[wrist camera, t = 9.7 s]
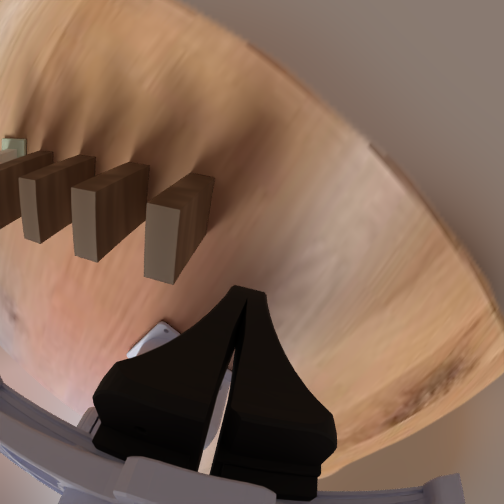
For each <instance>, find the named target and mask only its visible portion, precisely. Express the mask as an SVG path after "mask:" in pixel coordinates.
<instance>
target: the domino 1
mask: <svg viewBox="0 0 504 504" xmlns="http://www.w3.org/2000/svg"><path fill="white" fill-rule="evenodd" d="M16 158H17V149H5V150H1V151H0V164H2V163H5V162H8V161H10V160H13V159H16Z"/></svg>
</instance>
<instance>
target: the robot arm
mask: <svg viewBox="0 0 504 504" xmlns="http://www.w3.org/2000/svg"><path fill="white" fill-rule="evenodd" d="M166 329H167V330H166ZM234 349H235V354H234V361H233V369H232V372H231V371H230V370H228V369H227V368H228V365H229V363H230V360H231V357H232V355H233V352H234ZM127 357H128V358H129V359H125V360H122V361H118V362H116V363H115V364H114V365H113V367H112V368H111V369H110V370H109V371H108V372H107V374H106V375H105V376H104V378H103V379H102V381H101V382H100V384H99V386H98V388H97V389H96V391H95V393H94V395H93V403H94V406H95V407H90V408H88V409H87V411H86V412H85V414H84V415H83V417H82V419H81V420H80V422H79V424H78V425H77V427H75V426H73V425H71V424H70V423H67V422H66V421H64V420H62V419H60V418H58V417H57V416H55V415H53V414H51V413H49V412H48V411H46V410H44V409H43V408H41V407H39V406H38V405H36V404H35V403H33V402H31V401H30V400H28V399H27V398H25V397H24V396H22V395H20V394H19V393H17V392H16V391H14V390H13V389H12V388H10V387H9V386H7V385H6V384H5V383H3V380H2V378H1V376H0V452H1V453H2V454H3V455H5V456H6V457H7V458H8V459H10V460H11V461H12V462H14V463H15V464H16V465H17V466H19V467H20V468H21V469H23V470H24V471H26V472H27V473H28V474H30V475H31V476H33V477H34V478H36V479H37V480H39V481H40V482H42V483H43V484H45V485H46V486H48V487H49V488H51V489H53V490H54V491H56V492H58V493H59V494H61V495H62V496H61V498H60V501H59V503H58V504H465V499H464V495H463V489H462V484H461V479H460V474H459V473H456V474H450V475H444V476H439V477H436V478H434V479H432V480H430V481H428V482H427V483H425V484H424V485H423V486H418V487H410V488H401V489H390V490H376V491H346V492H345V491H317V480H318V477H319V476H320V474H321V464H322V463H323V462H324V461H325V460H326V459H327V458H328V457H329V456H330V455H332V454H333V453H334V451H335V450H336V448H337V433H336V428H335V423H334V418H333V415H332V414H331V413H330V412H329V411H328V410H327V409H326V408H325V407H324V406H323V405H322V404H321V403H320V402H319V401H318V400H317V399H316V398H315V397H314V395H313V394H312V393H311V392H310V391H309V390H308V388H307V387H306V386H305V384H304V383H303V382H302V380H301V379H300V377H299V376H298V375H297V373H296V372H295V370H294V368H293V367H292V365H291V363H290V362H289V360H288V358H287V356H286V354H285V353H284V350H283V348H282V346H281V344H280V342H279V339H278V337H277V334H276V332H275V329H274V326H273V323H272V320H271V317H270V313H269V309H268V304H267V297H266V294H265V292H261V291H257V290H253V289H249V288H245V287H241V286H237V285H234V286H232V287H231V289H230V290H229V291H228V293H227V294H226V295H225V297H224V298H223V299H222V300H221V301H220V302H219V303H218V304H217V305H216V306H215V307H214V308H213V309H212V310H211V311H210V312H209V313H208V314H207V315H206V316H205V317H203V318H202V319H201V320H200V321H199V322H197V323H196V324H195V325H194V326H192V327H191V328H190V329H188V330H187V331H185V332H184V333H182V334H180V333H178V332H177V331H176V330H174V329H173V328H172V327H171V326H169V325H168V324H167V323H165V322H163V321H160V322H159V323H158V324H157V325H156V326H155V327H154V328H152V329H151V330H150V331H149V332H148V333H147V334H146V335H145V336H144V337H143V338H142V339H141V340H140V341H139V342H138V343H137V344H136V345H135V346H134V347H132V348H131V349H130V350H129V351H128V353H127ZM230 382H231V384H230ZM229 385H230V391H229V397H228V401H227V406H226V410H225V414H224V418H223V422H222V426H221V430H220V434H219V438H218V443H217V447H216V451H215V455H214V459H213V463H212V467H211V470H210V474H209V475H207V474H203V473H199V472H198V469H199V465H200V461H201V457H202V453H203V450H204V449H206V448H207V447H208V446H209V444H210V443H211V442H212V440H213V439H214V437H215V435H216V433H217V431H218V429H219V426H220V422H221V418H222V414H223V410H224V406H225V402H226V398H227V393H228V389H229Z"/></svg>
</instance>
